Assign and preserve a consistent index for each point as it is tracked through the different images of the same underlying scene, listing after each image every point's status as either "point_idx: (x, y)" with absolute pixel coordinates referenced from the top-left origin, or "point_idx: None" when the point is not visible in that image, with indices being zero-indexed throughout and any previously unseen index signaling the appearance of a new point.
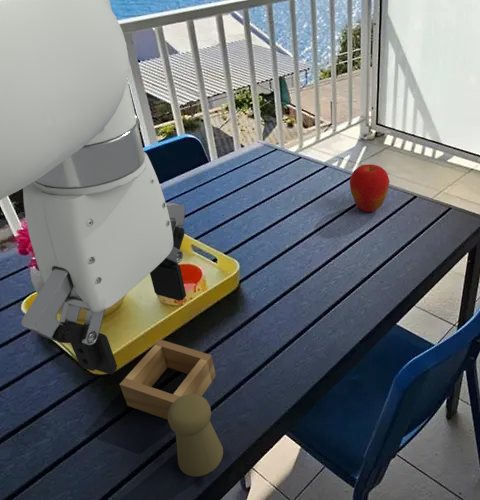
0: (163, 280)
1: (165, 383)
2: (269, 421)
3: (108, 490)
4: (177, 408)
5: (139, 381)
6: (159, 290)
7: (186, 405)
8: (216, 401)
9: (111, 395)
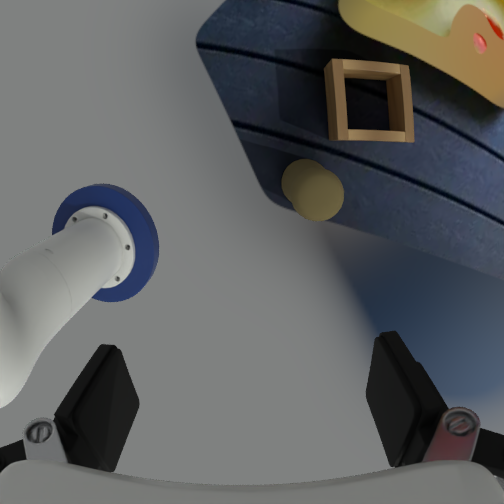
0: (387, 405)
1: (367, 90)
2: (366, 229)
3: (234, 119)
4: (312, 186)
5: (349, 72)
6: (378, 361)
7: (320, 195)
8: (369, 160)
9: (326, 43)
